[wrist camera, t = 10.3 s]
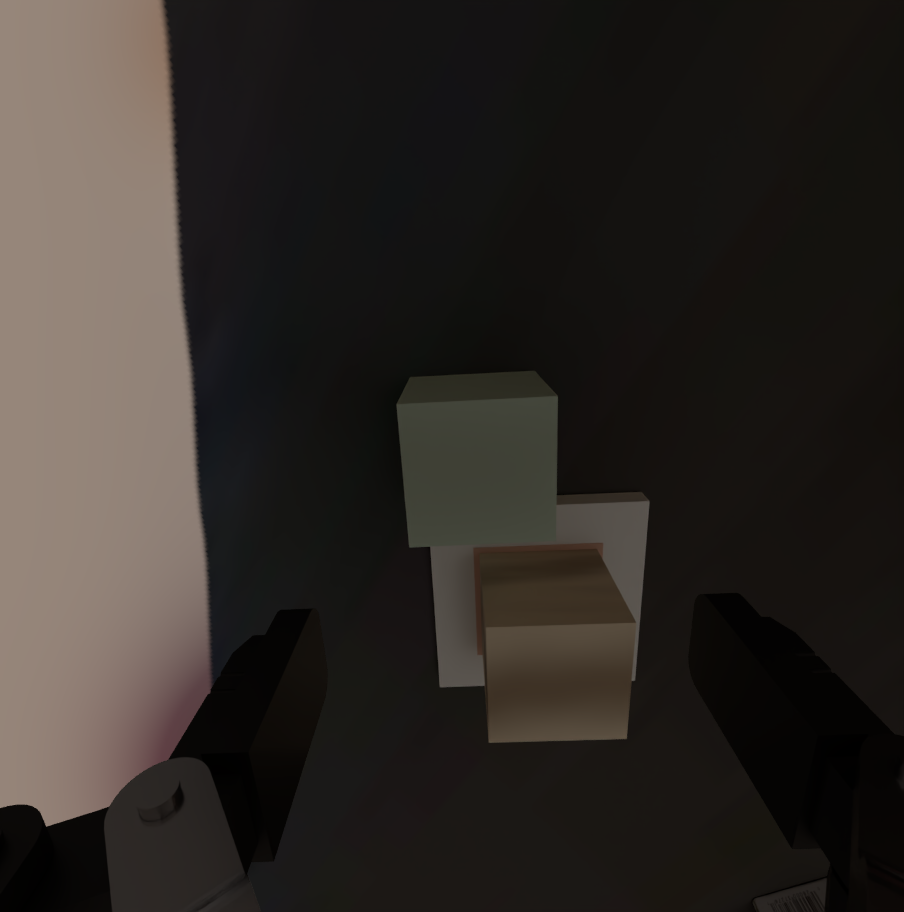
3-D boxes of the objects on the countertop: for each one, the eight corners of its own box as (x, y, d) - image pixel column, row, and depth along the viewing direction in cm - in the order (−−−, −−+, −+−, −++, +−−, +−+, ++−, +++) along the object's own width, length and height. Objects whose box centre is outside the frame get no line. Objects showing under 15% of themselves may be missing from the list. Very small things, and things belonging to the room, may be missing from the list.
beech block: (479, 553, 26) (485, 627, 21) (597, 548, 26) (636, 622, 20) (482, 649, 28) (488, 742, 22) (591, 646, 28) (626, 738, 22)
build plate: (429, 500, 27) (427, 511, 26) (641, 491, 27) (650, 502, 25) (440, 671, 30) (439, 688, 29) (628, 665, 30) (635, 681, 29)
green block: (410, 376, 25) (396, 404, 19) (534, 370, 25) (557, 396, 19) (419, 491, 27) (409, 547, 21) (534, 486, 27) (556, 540, 21)
